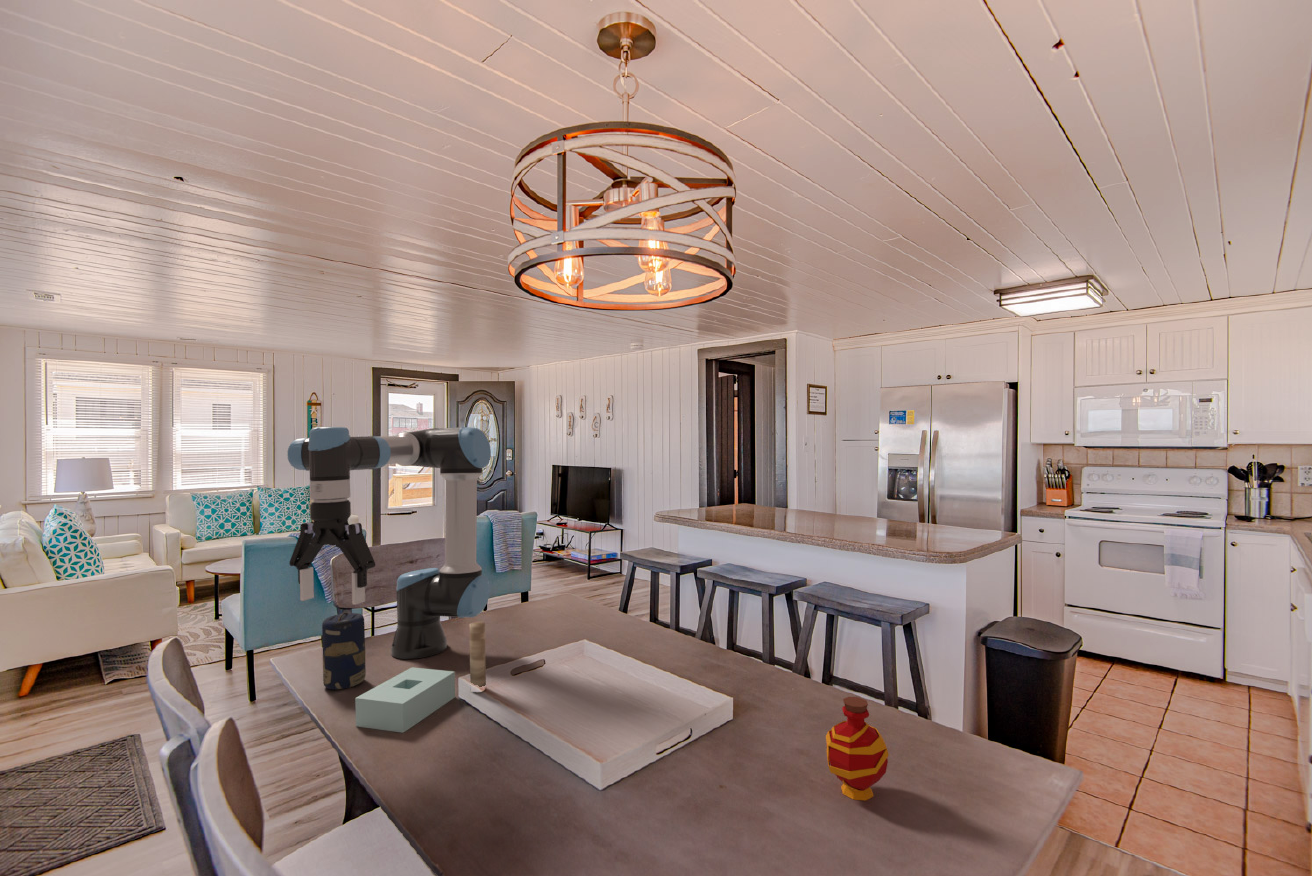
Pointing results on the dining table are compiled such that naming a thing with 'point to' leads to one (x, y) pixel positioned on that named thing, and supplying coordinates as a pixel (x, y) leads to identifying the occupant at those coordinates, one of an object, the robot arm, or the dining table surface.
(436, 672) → the socket block
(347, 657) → the canister
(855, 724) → the potion bottle
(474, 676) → the peg
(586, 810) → the dining table surface
